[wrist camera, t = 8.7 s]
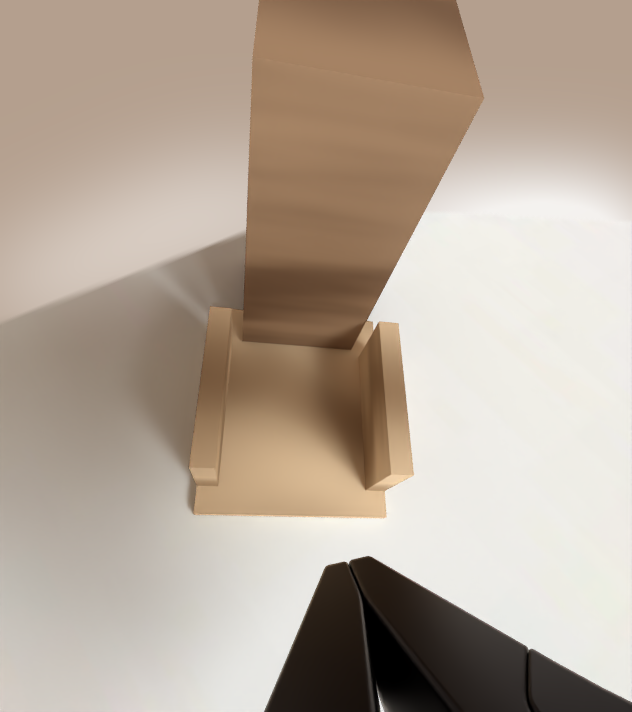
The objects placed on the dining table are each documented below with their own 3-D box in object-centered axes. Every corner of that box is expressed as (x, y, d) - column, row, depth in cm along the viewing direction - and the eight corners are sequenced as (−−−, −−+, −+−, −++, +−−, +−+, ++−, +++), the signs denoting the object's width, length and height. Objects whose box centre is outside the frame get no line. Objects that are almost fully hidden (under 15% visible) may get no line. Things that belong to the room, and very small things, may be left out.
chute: (383, 518, 17) (417, 506, 14) (194, 514, 16) (184, 500, 13) (370, 325, 21) (394, 282, 18) (218, 312, 20) (215, 264, 17)
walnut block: (351, 349, 20) (483, 98, 9) (242, 341, 19) (252, 56, 9) (347, 264, 22) (450, -17, 12) (250, 253, 21) (265, -58, 11)
